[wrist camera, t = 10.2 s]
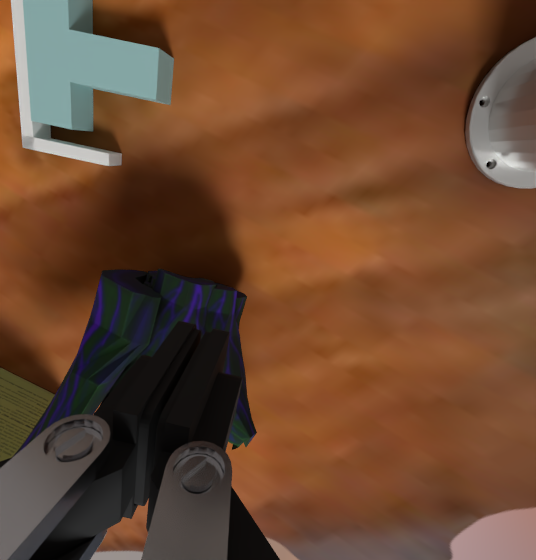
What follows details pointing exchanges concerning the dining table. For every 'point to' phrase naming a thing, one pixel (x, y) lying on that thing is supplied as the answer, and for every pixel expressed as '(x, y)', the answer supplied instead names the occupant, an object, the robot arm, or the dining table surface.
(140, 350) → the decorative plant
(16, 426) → the protein box
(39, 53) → the t block
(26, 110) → the dock
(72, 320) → the dining table surface
